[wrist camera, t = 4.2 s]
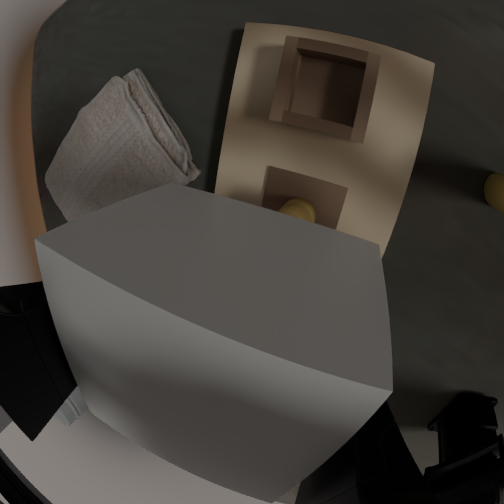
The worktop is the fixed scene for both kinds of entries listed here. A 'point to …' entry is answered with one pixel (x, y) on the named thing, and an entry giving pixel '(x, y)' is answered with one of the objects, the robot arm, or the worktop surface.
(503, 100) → the worktop surface
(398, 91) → the board
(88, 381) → the grey rounded cube
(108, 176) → the washcloth
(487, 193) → the peg
